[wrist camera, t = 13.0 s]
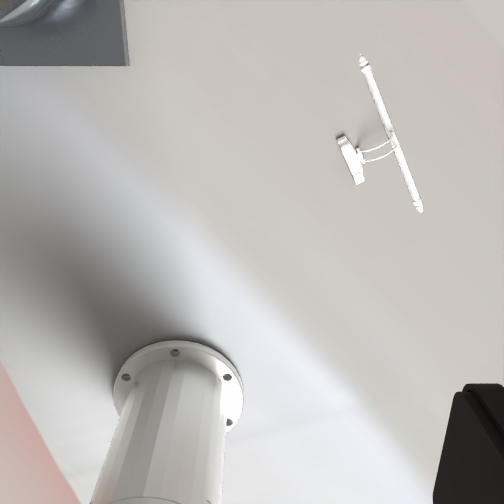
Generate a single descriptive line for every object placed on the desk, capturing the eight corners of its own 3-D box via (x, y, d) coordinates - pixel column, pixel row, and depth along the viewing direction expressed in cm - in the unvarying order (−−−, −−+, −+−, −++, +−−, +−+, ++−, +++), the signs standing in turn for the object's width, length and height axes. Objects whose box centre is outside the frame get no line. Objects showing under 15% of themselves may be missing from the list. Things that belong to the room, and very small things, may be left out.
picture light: (424, 210, 39) (433, 219, 38) (376, 232, 40) (382, 241, 38) (363, 50, 34) (369, 50, 33) (309, 78, 35) (312, 80, 33)
